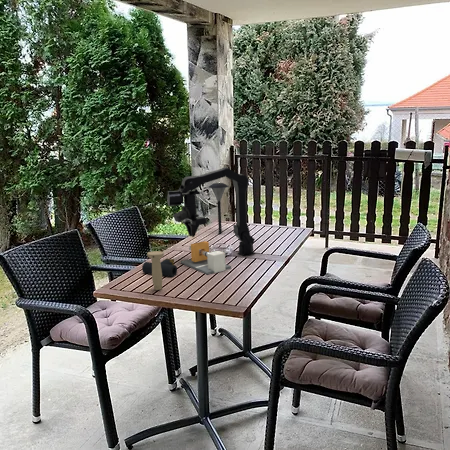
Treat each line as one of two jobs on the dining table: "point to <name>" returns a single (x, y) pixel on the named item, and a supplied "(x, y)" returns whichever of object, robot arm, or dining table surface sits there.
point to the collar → (195, 251)
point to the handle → (156, 268)
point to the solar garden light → (218, 199)
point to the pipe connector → (162, 267)
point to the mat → (201, 266)
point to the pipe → (201, 252)
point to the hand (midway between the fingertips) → (191, 236)
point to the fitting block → (216, 261)
